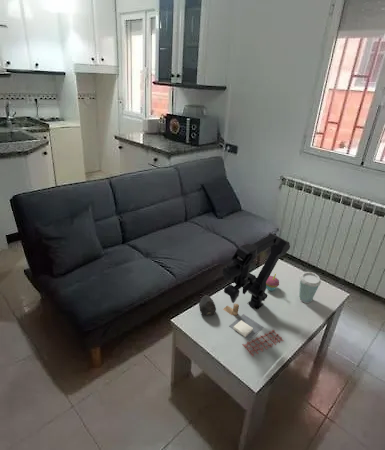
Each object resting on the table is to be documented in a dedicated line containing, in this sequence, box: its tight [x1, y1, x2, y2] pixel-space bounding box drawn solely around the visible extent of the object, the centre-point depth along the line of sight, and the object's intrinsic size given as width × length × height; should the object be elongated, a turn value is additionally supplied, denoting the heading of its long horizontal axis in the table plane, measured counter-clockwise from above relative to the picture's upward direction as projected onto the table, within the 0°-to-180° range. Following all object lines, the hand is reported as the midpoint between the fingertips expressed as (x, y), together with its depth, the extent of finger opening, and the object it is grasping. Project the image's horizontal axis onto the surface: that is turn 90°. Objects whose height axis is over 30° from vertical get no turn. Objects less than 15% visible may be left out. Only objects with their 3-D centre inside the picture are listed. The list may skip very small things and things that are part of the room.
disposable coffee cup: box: [298, 271, 322, 304], centre depth 165 cm, size 11×11×15 cm
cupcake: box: [266, 273, 280, 292], centre depth 172 cm, size 9×8×12 cm
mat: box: [228, 313, 265, 342], centre depth 147 cm, size 12×12×1 cm
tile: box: [232, 320, 253, 338], centre depth 145 cm, size 2×7×6 cm
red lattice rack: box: [241, 329, 285, 357], centre depth 139 cm, size 7×19×2 cm, turn 121°
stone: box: [198, 294, 217, 316], centre depth 152 cm, size 8×8×10 cm
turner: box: [222, 303, 240, 317], centre depth 154 cm, size 4×8×6 cm, turn 46°
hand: (238, 298), depth 149 cm, fingers open, 9 cm apart
